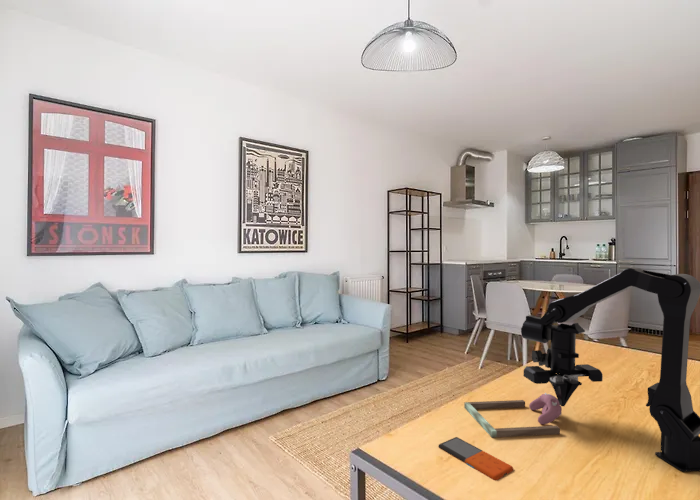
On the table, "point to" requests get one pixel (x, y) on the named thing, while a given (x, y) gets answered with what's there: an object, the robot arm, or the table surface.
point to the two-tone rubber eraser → (476, 458)
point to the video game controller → (546, 408)
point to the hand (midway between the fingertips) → (561, 405)
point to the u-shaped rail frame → (506, 432)
